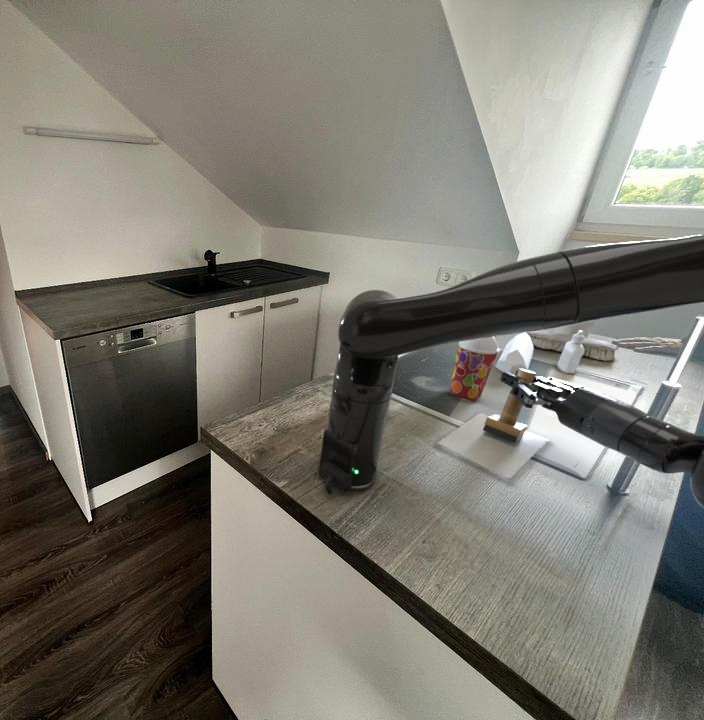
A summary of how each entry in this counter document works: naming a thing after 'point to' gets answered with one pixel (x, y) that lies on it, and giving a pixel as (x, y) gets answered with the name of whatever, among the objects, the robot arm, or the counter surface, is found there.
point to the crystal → (516, 354)
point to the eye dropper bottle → (571, 354)
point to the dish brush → (509, 415)
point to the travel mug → (577, 329)
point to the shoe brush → (558, 341)
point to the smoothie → (473, 367)
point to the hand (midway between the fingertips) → (509, 375)
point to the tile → (492, 447)
